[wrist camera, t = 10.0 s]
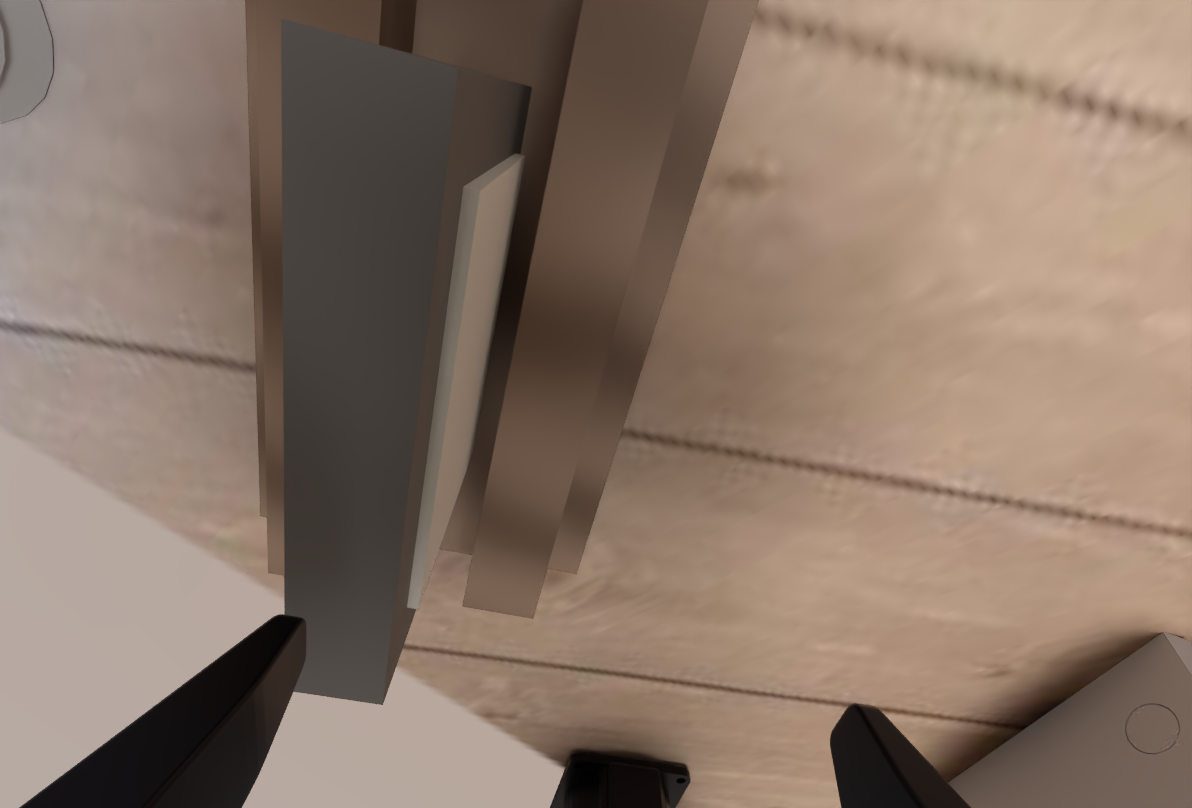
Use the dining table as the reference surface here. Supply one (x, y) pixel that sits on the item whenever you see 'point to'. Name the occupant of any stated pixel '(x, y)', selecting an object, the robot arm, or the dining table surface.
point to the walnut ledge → (531, 244)
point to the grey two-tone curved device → (1101, 742)
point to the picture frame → (383, 329)
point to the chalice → (23, 57)
